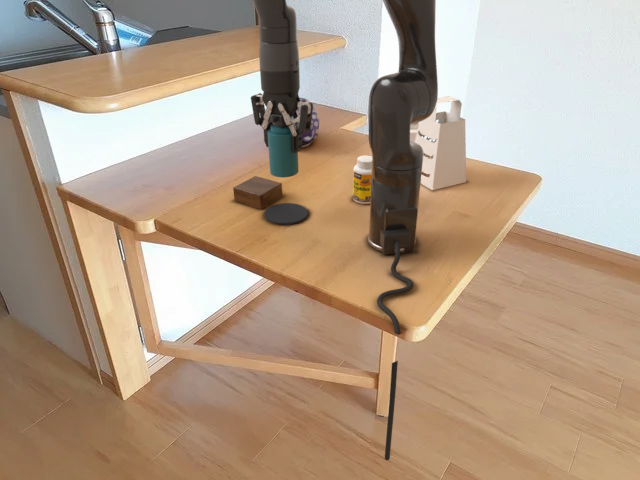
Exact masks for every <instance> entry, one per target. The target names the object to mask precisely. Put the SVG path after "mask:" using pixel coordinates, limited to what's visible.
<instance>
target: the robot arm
mask: <svg viewBox="0 0 640 480" xmlns="http://www.w3.org/2000/svg"><path fill="white" fill-rule="evenodd" d="M252 1H253V5H254V8H255V11H256V14H257V18H258V37H259V38H258V39H259V49H258V58H259V59H258V61H259V73H260V74H259V75H260V89H261V90H262V92H263V93H261V92H259V93H257V94H254V95H251V96H250V102H251V103H250V104H251V106H252V107H251V109H252V114H253V121H254V124H255V125H256V126H260V127H261V128H262V130H263V142H264V144H265V146H266V147H267V148H269V147H268V130H269V129H271V125H273V124H274V123H271V122H270V118H271V117H272V114H277V115H282V116H283V118H284V120H285V123H286V125H287V126H289V128H290V131H291V133H292V136H291V149H292V153H298V154H299V153H300V151H301V150H302V149H303V147H302V135H303V134H305V133H307V132H309V131H310V130H311V122H312V112H313V107H314V104H313V103H312V102H311V101H310V102H309V103H304V102H301V101H300V98H301V97H300V96H299V92H300V88H301V82H300V80H301V79H300V76H301V75H300V52H299V45H298V21H297V13H296V10H295V9H294V8H293V7H292V6H290V5H288V3H287V0H252ZM382 3H383V5H384V7H385V9H386V12H387V14H388V16H389V18H390V20H391V22H392V23H391V24H392V25H393V28H394V29H395V33H396V36H397V42H398V71H397V72H394V73H390V74H386V75H383V76H380V77H379V78H378V79H376V80H375V81H374V83H373V84H372V86H371V89H370V92H369V96H368V105H367V107H368V108H367V109H368V110H367V115H368V117H367V118H368V144H369V145H368V146H369V148H370V151H371V156H372V177H371V199H370V204H369V222H368V223H369V225H368V226H369V227H368V237H367V243H368V244H369V246H370V247H371V248H373V249H374V250H376V251H379V252H380V253H382V254H383V255H384V256H386V255H394V259H393V261H392V263H391V265H390V271H391V274H392V276H393V277H394V278H395V279H397V280H399V281H401V282H403V283H405V284H407V285H406V286H404V287H400V288H396V289H391V290H387V291H384V292H381V293H380V294H379V295H378V297H377V299H376V305H377V307H378V308H379V309H380V310H381V312H383V313H385V314H386V315H387V316H388V317H389V319H390V320H391V323H392V325H393V328H394V333H395V334H394V335H396V336H400V335H401V327H400V322H399V320H398V318H397V316H396V315H395V313H394V312H393V311H392V310H391V309H390V308H389V307H387V306H386V305H385V304H384V303H383V301H384V299H386V298H387V297H391V296H396V295H402V294H405V293H408V292H410V291H411V290H412V289H413V287H414V282H413V280H412V279H411V278H408V277H407V276H404V275H401V274H400V273H398V272H397V267H398V264H399V262H400V259H401V254H403V253H412V252H413V253H414V252H415V246H416V242H417V241H416V240H417V237H416V234H417V224H418V214H419V213H418V212H419V203H420V194H421V174H422V173H423V172H422V163H423V156H424V153H423V149H422V147H421V146H420V145H419V144H417V143H415V142H412V141H410V125H412V124H415V123H418V122H421V121H423V120H425V119H427V118H428V117H429V116H430V115H431V114H432V113H433V111H434V109H435V107H436V104H437V98H439V95H438V94H439V84H438V83H439V81H438V68H437V67H438V65H437V50H436V4H437V3H436V0H382ZM298 108H299V113H300V116H299V113H298V111H297V109H298ZM292 116H293V120H292V119H291V117H292ZM295 126H296V127H295ZM422 175H423V174H422ZM398 364H399V361H398V360H395V361H393V362H392V363H391V369H390V370H391V371H390V372H391V373H390V384H389V386H390V387H389V389H390V390H389V398H388V399H389V400H388V412H387V423H386V425H387V427H386V437H385V449H384V460H385V461H389V460H390V459H391V447H392V439H393V438H392V436H393V427H394V426H393V425H394V416H395V415H394V414H395V402H396V391H397V377H398Z"/></svg>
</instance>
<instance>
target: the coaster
mask: <svg viewBox="0 0 640 480" xmlns="http://www.w3.org/2000/svg"><path fill="white" fill-rule="evenodd" d="M263 214H264V218H265V220H266V221H267V222H268V223H271V224H275V225H279V226H289V225H290V226H291V225H295V224H299V223H301V222H303V221H304V220H306V219H307V218H308V214H309V212H308V209H307V208H306V207H305V206H303V205H301V204H298V203H290V202H284V203H276V204H273V205H271V206H269V207H267V208H266V209H265V210H264V213H263Z"/></svg>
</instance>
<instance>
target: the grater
mask: <svg viewBox="0 0 640 480" xmlns="http://www.w3.org/2000/svg"><path fill="white" fill-rule="evenodd" d="M448 102H450V110H449V112H448V111H439V112H437V109H438V108H439V106H440V104H443V103H448ZM462 105H463V103H462V102H461V100H460V99H459V98H455V97H452V96H449V95H448V96H442V97H438V98H437V104H436V107H435V109H434V111H433V113H432V114H431V115H430V116H429V117H428V118H427V119H425V120H423V121H421V122H419V126H418V130H417V134H416V139H415V143H417V144H419V145H420V146H421V147H422V149H423V163H422V173H424V174H426V175H429V176H425V175H424V174H421V183H420V185H423V186H424V187H426V188H427V189H429V190H431V191H435V190H440V189H444V188H448V187H451V186H455V185H459V184H463V183H466V182H467V150H466V149H467V148H466V147H467V146H466V145H467V144H466V119H465V118H464V117H461V112H462ZM437 121H438V122H437ZM425 137H426V138H425ZM430 157H431V158H430Z"/></svg>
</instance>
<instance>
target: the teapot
mask: <svg viewBox="0 0 640 480" xmlns="http://www.w3.org/2000/svg"><path fill="white" fill-rule="evenodd" d="M299 98H300V101H301V102H304V103H309V102H311V101H310V100H309V99H308V98H306V97H299ZM297 111H298V113H299V108H298V109H297ZM299 116H300V113H299ZM291 119H292V120H293V116H292V117H291ZM295 127H296V126H295ZM319 132H320V117H319V113H318V111H317V109H316V108H315V107H314V106H313V112H312V122H311V130H310V131H309V132H307V133H305V134H303V135H302V148H305V147H308V146H310V145H311V144H312V142H314V141H316V140H317V138H318V136H319Z"/></svg>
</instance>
